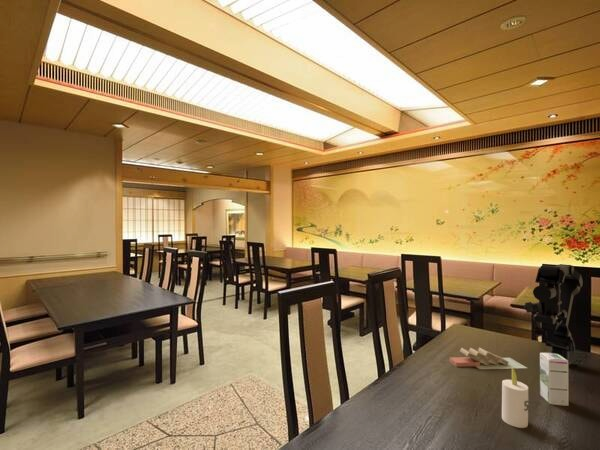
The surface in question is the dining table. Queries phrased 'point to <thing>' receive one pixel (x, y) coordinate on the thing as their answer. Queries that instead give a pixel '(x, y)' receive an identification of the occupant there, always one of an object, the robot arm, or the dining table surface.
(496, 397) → the dining table surface
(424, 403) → the dining table surface
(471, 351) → the domino
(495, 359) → the domino
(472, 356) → the domino
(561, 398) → the syrup box
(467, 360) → the domino
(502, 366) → the mat
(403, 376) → the dining table surface
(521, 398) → the candle
